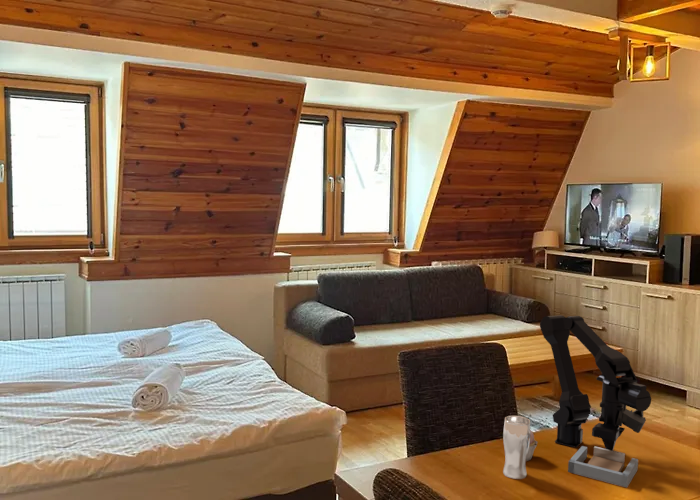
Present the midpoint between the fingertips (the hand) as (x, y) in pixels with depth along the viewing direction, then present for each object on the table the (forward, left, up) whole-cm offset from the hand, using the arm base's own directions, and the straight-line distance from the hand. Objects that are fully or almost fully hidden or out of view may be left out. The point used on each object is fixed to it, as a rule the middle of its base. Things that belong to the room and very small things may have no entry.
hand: (609, 453), depth 177 cm
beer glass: (-19, -24, -3) cm, 31 cm away
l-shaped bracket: (0, -6, -3) cm, 6 cm away
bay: (0, -6, -3) cm, 7 cm away
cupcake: (-22, -12, -3) cm, 25 cm away
